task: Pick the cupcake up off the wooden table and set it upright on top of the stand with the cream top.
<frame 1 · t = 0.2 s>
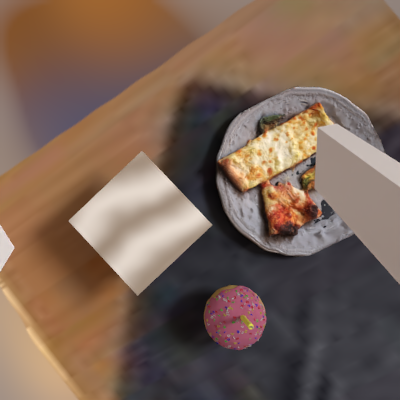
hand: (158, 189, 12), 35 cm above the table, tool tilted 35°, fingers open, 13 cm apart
food plate: (295, 173, 47), on the table
cupcake: (232, 305, 47), on the table
stand: (151, 219, 47), on the table
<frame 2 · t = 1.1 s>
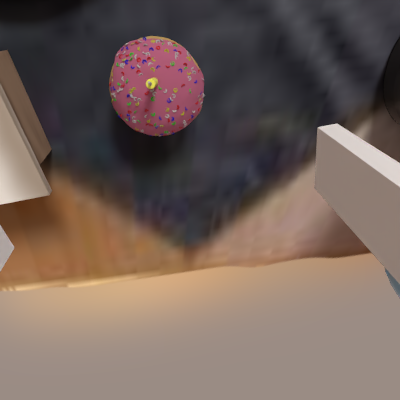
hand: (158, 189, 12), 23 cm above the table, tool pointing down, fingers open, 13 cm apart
cupcake: (157, 79, 32), on the table
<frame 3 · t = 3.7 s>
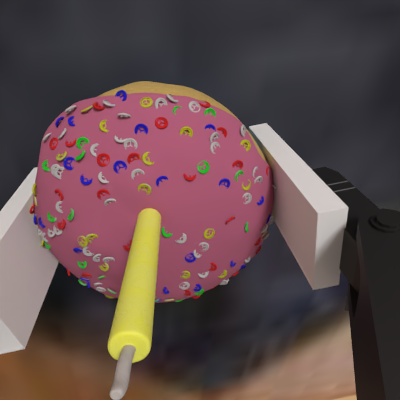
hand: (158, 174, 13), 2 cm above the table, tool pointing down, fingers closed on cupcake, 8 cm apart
cupcake: (159, 155, 15), on the table, touching gripper
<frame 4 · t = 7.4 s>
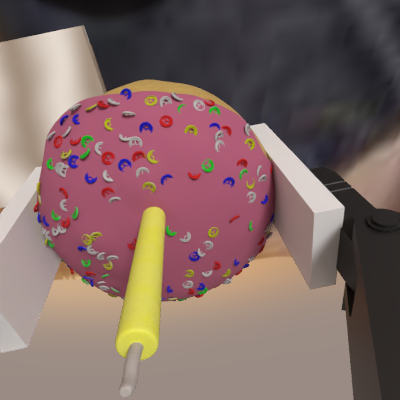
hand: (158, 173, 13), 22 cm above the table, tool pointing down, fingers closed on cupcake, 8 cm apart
cupcake: (161, 154, 15), point 20 cm above the table, touching gripper
stand: (61, 105, 33), on the table
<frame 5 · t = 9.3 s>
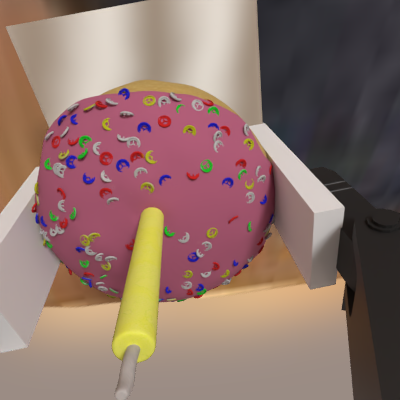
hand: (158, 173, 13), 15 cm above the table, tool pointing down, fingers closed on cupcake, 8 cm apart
cupcake: (160, 154, 15), point 13 cm above the table, touching gripper
stand: (159, 95, 26), on the table
when the fingers open (11 cm above the table, at t = 10.8 s): cupcake drops 1 cm, resting on stand.
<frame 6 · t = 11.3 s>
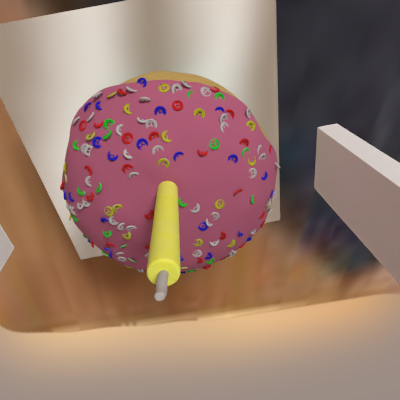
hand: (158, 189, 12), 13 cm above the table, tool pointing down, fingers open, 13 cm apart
cupcake: (169, 142, 16), point 8 cm above the table, touching stand
stand: (157, 106, 23), on the table
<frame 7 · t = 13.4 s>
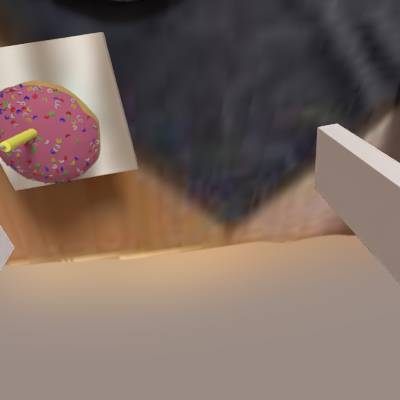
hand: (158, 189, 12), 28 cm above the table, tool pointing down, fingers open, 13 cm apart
cupcake: (60, 118, 29), point 8 cm above the table, touching stand
stand: (70, 98, 36), on the table
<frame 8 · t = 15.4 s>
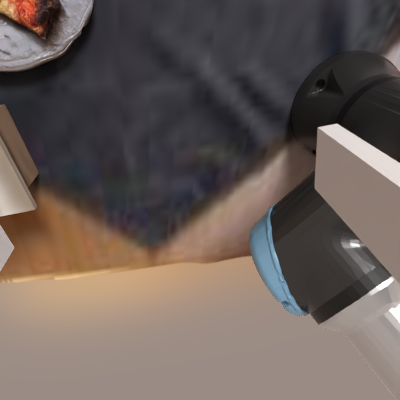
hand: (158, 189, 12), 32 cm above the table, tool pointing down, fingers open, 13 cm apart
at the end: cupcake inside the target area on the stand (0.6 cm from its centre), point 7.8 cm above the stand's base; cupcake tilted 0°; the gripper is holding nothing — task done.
